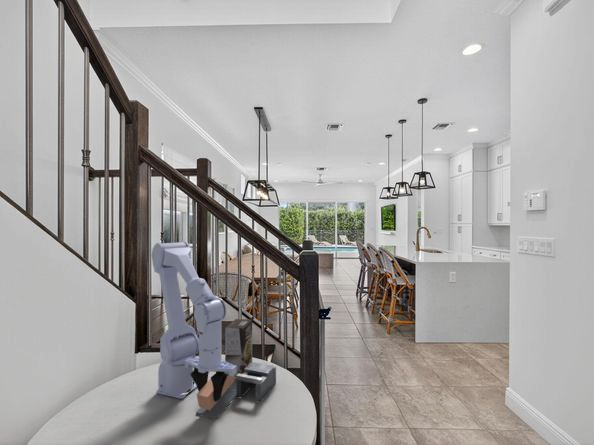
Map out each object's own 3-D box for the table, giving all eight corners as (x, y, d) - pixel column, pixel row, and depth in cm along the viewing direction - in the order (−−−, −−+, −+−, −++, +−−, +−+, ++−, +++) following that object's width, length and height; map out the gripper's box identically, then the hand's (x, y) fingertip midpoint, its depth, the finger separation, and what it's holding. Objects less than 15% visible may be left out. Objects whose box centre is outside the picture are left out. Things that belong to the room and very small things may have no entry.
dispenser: (236, 397, 86) (236, 375, 85) (253, 377, 96) (253, 358, 96) (260, 402, 83) (260, 380, 83) (276, 382, 94) (276, 362, 93)
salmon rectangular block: (199, 406, 78) (196, 394, 77) (225, 377, 87) (223, 365, 86) (209, 410, 76) (207, 397, 75) (235, 379, 86) (233, 367, 85)
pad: (196, 414, 78) (196, 412, 78) (221, 389, 89) (221, 387, 89) (215, 419, 76) (215, 416, 76) (239, 393, 87) (239, 391, 87)
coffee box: (243, 379, 95) (243, 328, 95) (224, 376, 97) (224, 327, 97) (253, 365, 104) (253, 319, 104) (235, 363, 106) (235, 318, 105)
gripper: (177, 348, 77) (177, 401, 77) (226, 356, 73) (226, 412, 73) (194, 338, 84) (194, 386, 84) (240, 345, 79) (240, 396, 79)
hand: (210, 397), depth 79 cm, fingers closed on salmon rectangular block, 4 cm apart
